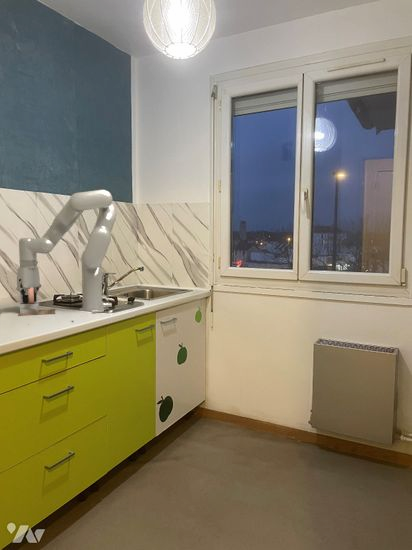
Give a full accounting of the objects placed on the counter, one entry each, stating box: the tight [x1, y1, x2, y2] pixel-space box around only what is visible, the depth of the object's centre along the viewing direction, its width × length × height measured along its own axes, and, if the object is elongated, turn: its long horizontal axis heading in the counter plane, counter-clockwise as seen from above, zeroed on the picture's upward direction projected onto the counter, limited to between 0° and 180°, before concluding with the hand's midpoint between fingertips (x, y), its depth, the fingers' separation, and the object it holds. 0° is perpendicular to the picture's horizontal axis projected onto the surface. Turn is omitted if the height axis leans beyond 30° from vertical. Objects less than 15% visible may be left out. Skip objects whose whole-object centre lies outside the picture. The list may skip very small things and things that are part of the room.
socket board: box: [17, 301, 56, 317], centre depth 195 cm, size 16×14×5 cm
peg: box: [25, 287, 34, 304], centre depth 196 cm, size 4×4×10 cm
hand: (29, 301), depth 196 cm, fingers closed on peg, 3 cm apart
